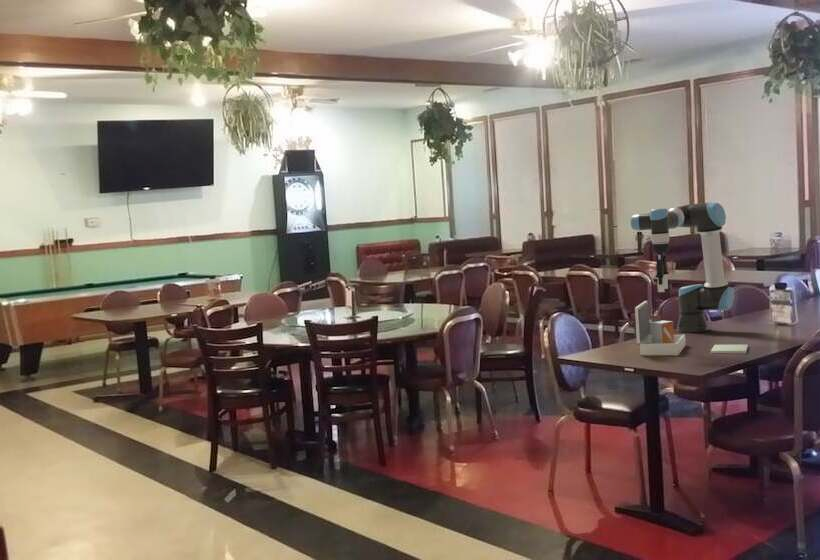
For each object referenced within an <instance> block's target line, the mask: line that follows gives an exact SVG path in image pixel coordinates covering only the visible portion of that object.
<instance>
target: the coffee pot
mask: <svg viewBox="0 0 820 560" xmlns="http://www.w3.org/2000/svg"><path fill="white" fill-rule="evenodd" d="M664 312H665V310H664V308H660V309H659V311H658V313H657V315H649V320H650V321H651V322H652V323H653V322H657V321H661V318H662V316H661V315H662V313H664ZM649 335H651V323H650V334H649Z"/></svg>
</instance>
